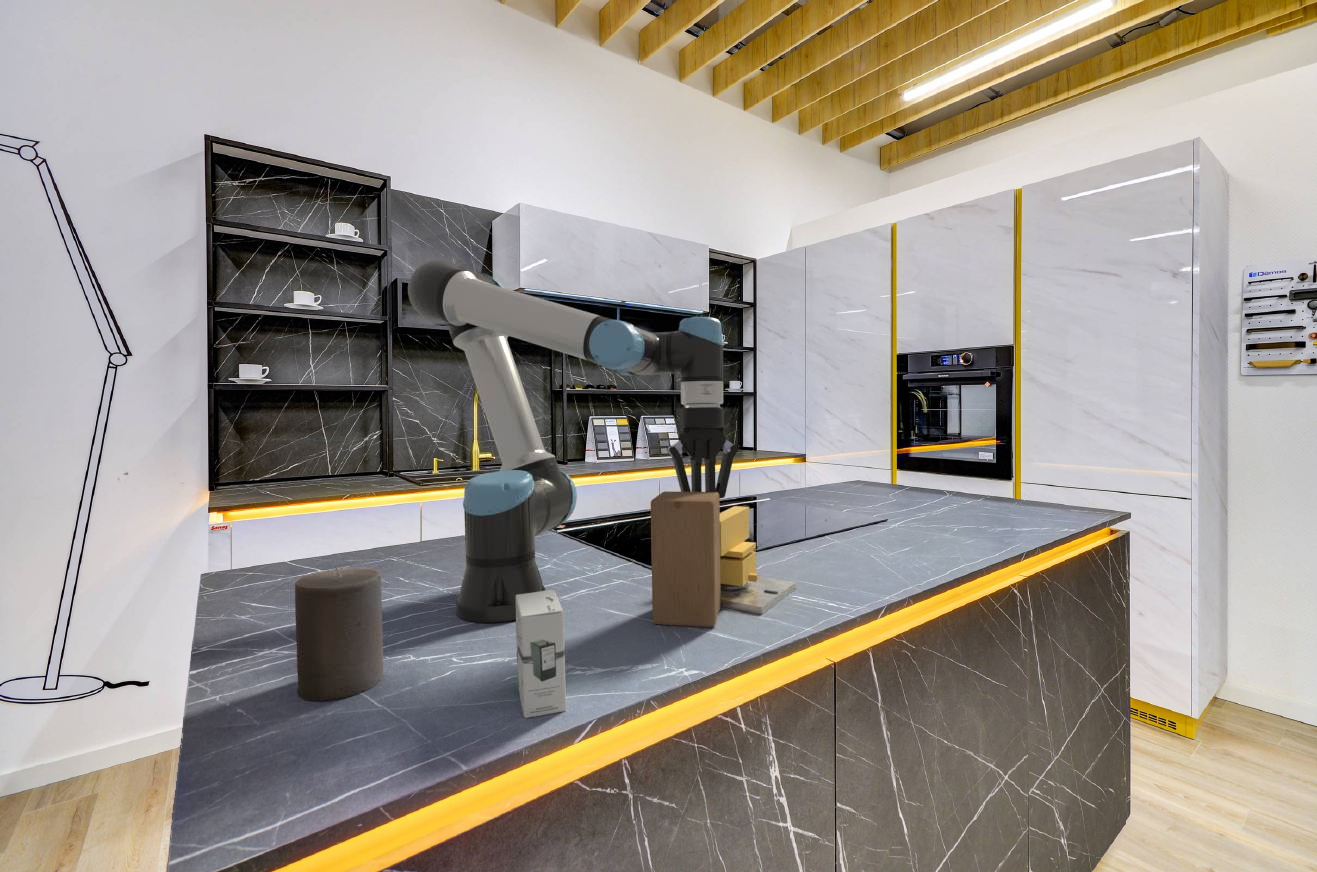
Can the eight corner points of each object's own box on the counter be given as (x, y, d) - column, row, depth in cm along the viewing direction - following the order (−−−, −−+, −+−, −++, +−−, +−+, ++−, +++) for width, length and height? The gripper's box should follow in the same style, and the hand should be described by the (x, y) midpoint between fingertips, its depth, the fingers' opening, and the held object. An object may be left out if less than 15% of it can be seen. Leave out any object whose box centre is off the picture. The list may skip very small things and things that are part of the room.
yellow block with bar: (684, 586, 103) (683, 518, 102) (716, 564, 117) (715, 504, 116) (744, 594, 98) (743, 523, 97) (769, 569, 112) (769, 508, 111)
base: (660, 594, 106) (660, 541, 106) (703, 573, 120) (702, 525, 119) (761, 614, 95) (761, 554, 95) (796, 588, 109) (795, 535, 108)
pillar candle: (290, 708, 67) (286, 581, 66) (304, 673, 76) (301, 561, 75) (383, 692, 71) (380, 572, 70) (385, 660, 80) (383, 553, 79)
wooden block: (714, 628, 89) (713, 500, 88) (652, 625, 91) (649, 499, 90) (720, 606, 99) (719, 491, 98) (664, 604, 101) (662, 490, 100)
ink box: (516, 685, 72) (513, 592, 71) (556, 678, 74) (553, 587, 73) (523, 719, 64) (520, 615, 63) (567, 711, 65) (565, 609, 65)
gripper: (671, 406, 97) (673, 545, 98) (744, 405, 100) (745, 540, 101) (661, 407, 104) (664, 536, 105) (730, 406, 107) (731, 531, 108)
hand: (704, 538), depth 103 cm, fingers closed
